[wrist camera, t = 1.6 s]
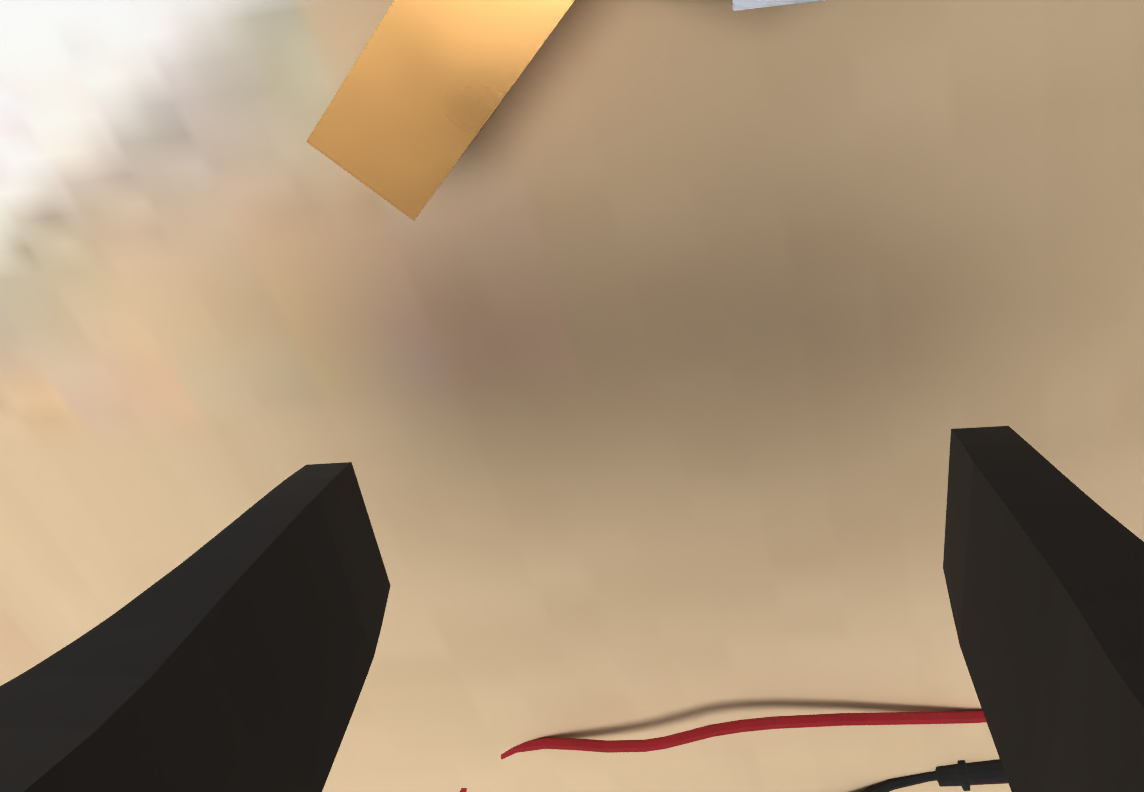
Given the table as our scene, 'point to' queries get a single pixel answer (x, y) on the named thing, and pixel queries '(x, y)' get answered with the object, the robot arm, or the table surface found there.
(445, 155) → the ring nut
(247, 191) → the table surface
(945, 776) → the digital clamp meter
